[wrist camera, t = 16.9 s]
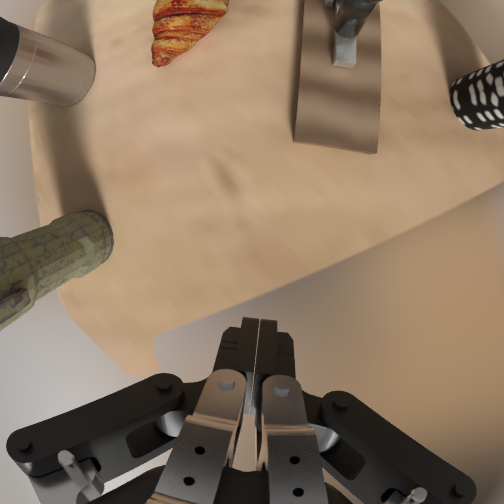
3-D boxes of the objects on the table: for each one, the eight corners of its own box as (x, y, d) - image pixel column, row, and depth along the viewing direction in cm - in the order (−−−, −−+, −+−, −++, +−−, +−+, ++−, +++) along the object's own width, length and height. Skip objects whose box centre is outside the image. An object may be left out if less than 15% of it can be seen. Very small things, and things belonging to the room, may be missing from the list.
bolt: (358, 70, 30) (398, 22, 16) (326, 64, 30) (350, 10, 16) (358, -4, 26) (386, -64, 13) (328, -9, 27) (345, -74, 13)
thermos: (61, 209, 41) (-128, 281, 8) (120, 209, 40) (-108, 306, 7) (66, 262, 44) (-99, 366, 10) (124, 267, 43) (-58, 415, 9)
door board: (369, 154, 35) (389, 151, 28) (293, 142, 36) (296, 136, 29) (372, -7, 28) (386, -32, 21) (304, -19, 29) (307, -48, 22)
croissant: (214, -28, 32) (183, -53, 25) (264, -34, 28) (233, -66, 21) (156, 74, 38) (115, 55, 31) (201, 79, 33) (156, 54, 26)
